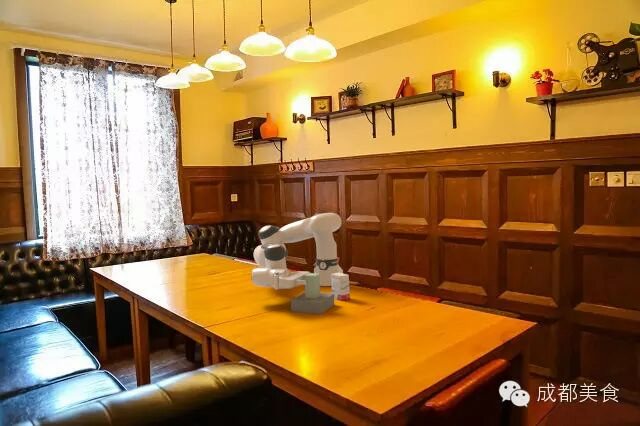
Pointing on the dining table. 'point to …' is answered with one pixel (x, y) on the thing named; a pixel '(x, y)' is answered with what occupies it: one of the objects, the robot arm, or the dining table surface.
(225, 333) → the dining table surface
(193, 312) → the dining table surface
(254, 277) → the robot arm
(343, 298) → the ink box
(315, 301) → the gray block
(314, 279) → the sage block
